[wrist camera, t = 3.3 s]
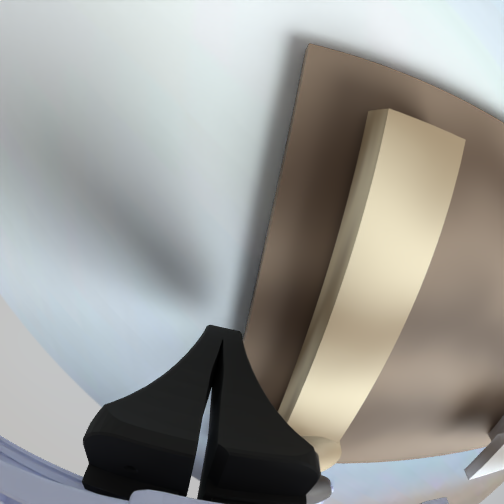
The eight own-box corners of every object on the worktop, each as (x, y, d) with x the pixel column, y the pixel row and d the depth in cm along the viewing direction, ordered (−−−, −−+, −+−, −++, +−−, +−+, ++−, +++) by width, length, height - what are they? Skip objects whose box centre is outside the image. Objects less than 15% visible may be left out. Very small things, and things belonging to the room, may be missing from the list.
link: (320, 451, 17) (328, 511, 13) (250, 445, 17) (248, 509, 13) (450, 142, 10) (525, 156, 6) (349, 105, 10) (399, 94, 6)
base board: (494, 436, 20) (513, 473, 15) (219, 441, 18) (211, 505, 14) (610, 211, 12) (652, 233, 7) (305, 49, 11) (331, 4, 6)
